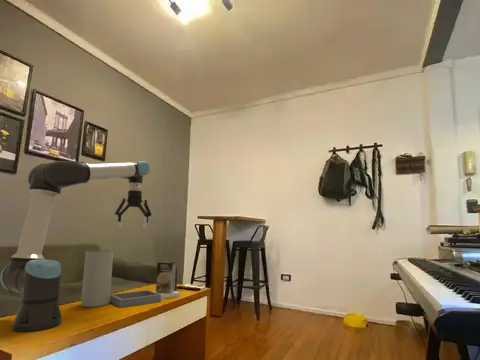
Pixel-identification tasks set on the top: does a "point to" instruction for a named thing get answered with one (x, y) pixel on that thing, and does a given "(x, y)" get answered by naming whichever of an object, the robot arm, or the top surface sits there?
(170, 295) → the board
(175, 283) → the brown box
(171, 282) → the coffee box
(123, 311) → the top surface
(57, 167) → the robot arm
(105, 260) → the cylinder vase
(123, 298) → the bin
